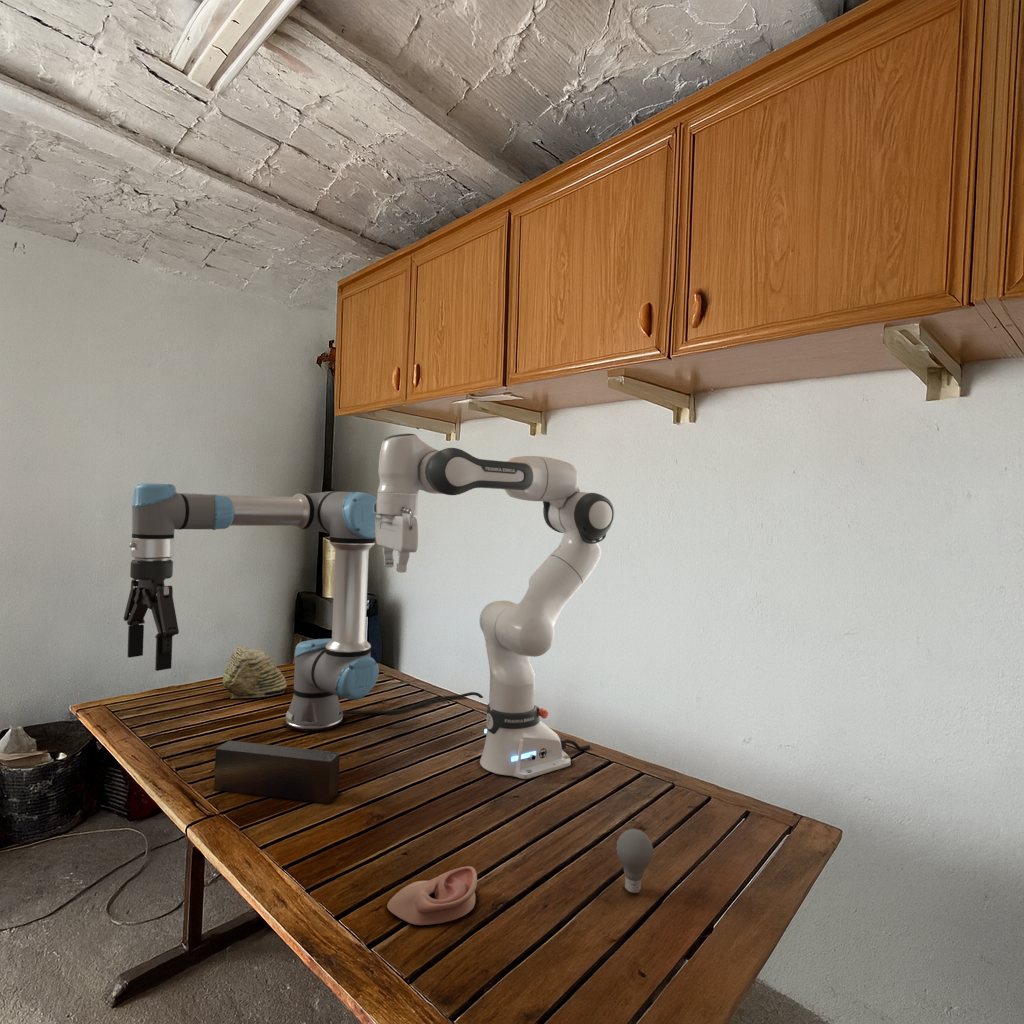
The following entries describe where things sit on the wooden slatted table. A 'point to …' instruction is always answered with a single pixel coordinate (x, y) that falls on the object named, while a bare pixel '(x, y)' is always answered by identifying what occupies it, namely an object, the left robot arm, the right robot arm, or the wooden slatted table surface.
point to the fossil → (252, 674)
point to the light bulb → (634, 857)
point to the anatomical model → (436, 898)
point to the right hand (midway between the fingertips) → (394, 569)
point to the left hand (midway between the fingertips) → (148, 662)
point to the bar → (277, 771)
